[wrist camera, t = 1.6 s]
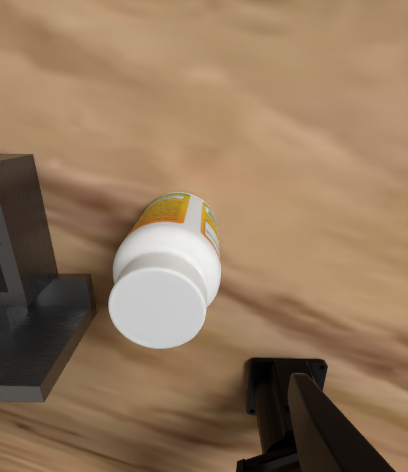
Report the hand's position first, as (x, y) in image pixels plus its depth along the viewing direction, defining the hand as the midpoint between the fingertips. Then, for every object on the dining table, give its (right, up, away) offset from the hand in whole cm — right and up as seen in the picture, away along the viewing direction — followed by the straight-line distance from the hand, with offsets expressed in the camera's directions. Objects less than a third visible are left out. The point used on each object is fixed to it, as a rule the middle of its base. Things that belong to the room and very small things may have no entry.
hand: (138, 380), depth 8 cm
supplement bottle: (0, +5, +12) cm, 13 cm away
